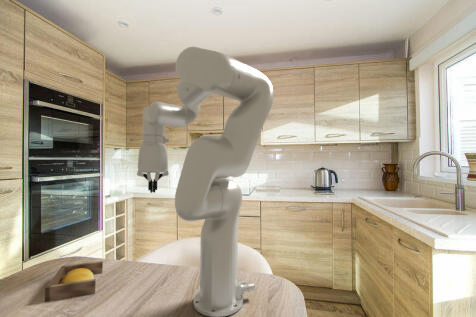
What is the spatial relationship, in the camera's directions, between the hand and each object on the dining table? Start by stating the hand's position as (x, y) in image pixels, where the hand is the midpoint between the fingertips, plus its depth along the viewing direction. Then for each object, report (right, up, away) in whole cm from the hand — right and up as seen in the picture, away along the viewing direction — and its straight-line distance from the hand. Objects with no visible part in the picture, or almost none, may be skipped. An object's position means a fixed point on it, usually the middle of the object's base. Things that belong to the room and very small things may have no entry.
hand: (152, 192), depth 85 cm
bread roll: (-16, -25, -16) cm, 34 cm away
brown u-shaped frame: (-16, -25, -17) cm, 34 cm away
